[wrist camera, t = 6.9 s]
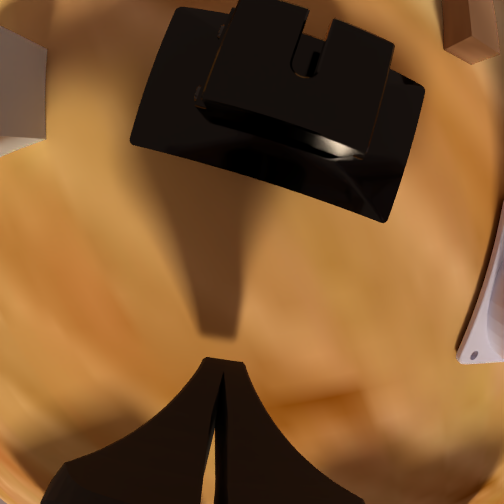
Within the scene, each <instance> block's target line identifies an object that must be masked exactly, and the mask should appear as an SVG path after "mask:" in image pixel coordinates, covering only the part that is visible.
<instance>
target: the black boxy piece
mask: <svg viewBox="0 0 504 504" xmlns="http://www.w3.org/2000/svg"><path fill="white" fill-rule="evenodd" d="M309 11H310V10H309V9H308V8H305V7H302V6H299V5H296V4H292V3H289V2H285V1H282V0H239V1H238V4H237V6H236V8H234V7H233V8H232V9H231V12H230V14H225V13H220V12H214V11H208V10H202V9H195V8H188V7H179V8H177V9H176V11H175V13H174V15H173V17H172V20H171V22H170V24H169V27H168V29H167V31H166V34H165V36H164V39H163V41H162V44H161V46H160V49H159V51H158V54H157V56H156V59H155V62H154V64H153V67H152V70H151V73H150V76H149V78H148V81H147V84H146V87H145V90H144V93H143V96H142V99H141V102H140V106H139V109H138V112H137V115H136V119H135V122H134V126H133V129H132V133H131V136H130V143H131V144H132V145H135V146H139V147H144V148H148V149H152V150H156V151H160V152H164V153H167V154H171V155H175V156H179V157H183V158H186V159H190V160H194V161H197V162H201V163H204V164H208V165H212V166H215V167H218V168H222V169H225V170H229V171H232V172H235V173H239V174H242V175H245V176H249V177H252V178H255V179H258V180H261V181H265V182H268V183H271V184H274V185H277V186H280V187H283V188H286V189H289V190H292V191H295V192H298V193H301V194H304V195H307V196H310V197H313V198H316V199H319V200H321V201H324V202H327V203H330V204H333V205H335V206H338V207H341V208H344V209H346V210H349V211H352V212H354V213H357V214H360V215H362V216H365V217H368V218H370V219H373V220H376V221H378V222H381V223H385V222H386V221H387V220H388V217H389V215H390V212H391V209H392V206H393V203H394V200H395V197H396V194H397V191H398V188H399V185H400V182H401V179H402V176H403V173H404V169H405V166H406V163H407V159H408V156H409V153H410V149H411V146H412V142H413V138H414V135H415V131H416V127H417V123H418V119H419V116H420V111H421V107H422V103H423V99H424V94H425V89H424V87H423V86H422V85H420V84H418V83H416V82H415V81H413V80H411V79H409V78H407V77H405V76H403V75H401V74H399V73H397V72H395V71H393V70H391V69H390V65H391V61H392V56H393V52H394V47H395V45H394V44H393V43H391V42H389V41H387V40H385V39H383V38H381V37H379V36H377V35H375V34H373V33H370V32H368V31H366V30H364V29H361V28H359V27H357V26H354V25H352V24H349V23H347V22H344V21H342V20H339V19H337V18H334V19H333V20H332V21H331V23H330V25H329V27H328V30H327V33H326V37H325V40H322V39H319V38H317V37H314V36H311V35H308V34H305V33H302V31H303V28H304V26H305V23H306V20H307V17H308V14H309Z"/></svg>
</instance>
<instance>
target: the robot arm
mask: <svg viewBox="0 0 504 504" xmlns="http://www.w3.org/2000/svg"><path fill="white" fill-rule="evenodd" d="M456 359H457V360H458V361H459V362H460V364H478V363H493V362H504V201H503V206H502V211H501V216H500V221H499V226H498V230H497V235H496V239H495V243H494V247H493V251H492V255H491V259H490V262H489V266H488V269H487V273H486V276H485V279H484V282H483V286H482V289H481V292H480V295H479V298H478V301H477V303H476V306H475V309H474V312H473V314H472V317H471V320H470V322H469V325H468V327H467V330H466V332H465V335H464V337H463V340H462V342H461V344H460V347H459V349H458V351H457V354H456ZM214 430H215V496H214V504H365V503H364V500H363V499H361V498H360V497H358V496H356V495H355V494H353V493H351V492H349V491H348V490H346V489H344V488H343V487H341V486H339V485H338V484H336V483H335V482H333V481H332V480H331V479H329V478H328V477H327V476H325V475H324V474H323V473H321V472H320V471H319V470H317V469H316V468H315V467H314V466H313V465H312V464H311V463H310V462H309V461H307V460H306V459H305V458H304V457H303V456H302V455H301V454H300V453H299V452H298V451H297V450H296V449H295V448H294V447H293V446H292V445H291V443H290V442H289V441H288V440H287V439H286V438H285V436H284V435H283V434H282V433H281V431H280V430H279V429H278V427H277V426H276V425H275V423H274V422H273V420H272V419H271V417H270V416H269V414H268V413H267V411H266V409H265V408H264V406H263V404H262V402H261V401H260V399H259V397H258V395H257V393H256V391H255V389H254V387H253V385H252V382H251V380H250V378H249V375H248V372H247V369H246V366H245V364H244V363H243V362H237V361H230V360H223V359H217V358H210V357H206V358H204V359H203V360H202V362H201V364H200V366H199V368H198V369H197V371H196V372H195V374H194V375H193V376H192V378H191V379H190V380H189V382H188V383H187V384H186V385H185V386H184V388H183V389H182V390H181V391H180V392H179V393H178V394H177V395H176V396H175V398H174V399H173V400H172V401H171V402H170V403H169V404H168V405H167V406H166V407H164V408H163V409H162V410H161V411H160V412H159V413H158V414H157V415H155V416H154V417H153V418H152V419H150V420H149V421H148V422H146V423H145V424H144V425H142V426H141V427H139V428H138V429H136V430H135V431H134V432H132V433H130V434H129V435H127V436H125V437H124V438H122V439H120V440H118V441H116V442H114V443H112V444H110V445H109V446H107V447H105V448H103V449H101V450H98V451H96V452H94V453H91V454H88V455H86V456H83V457H80V458H77V459H75V460H72V461H69V462H65V463H64V464H63V466H62V467H61V468H60V470H59V471H58V472H57V474H56V475H55V476H54V478H53V479H52V481H51V482H50V484H49V486H48V488H47V490H46V492H45V494H44V496H43V498H42V500H41V503H40V504H200V502H201V493H202V484H203V476H204V472H205V468H206V464H207V459H208V455H209V451H210V447H211V442H212V438H213V434H214Z"/></svg>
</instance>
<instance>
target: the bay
mask: <svg viewBox="0 0 504 504" xmlns="http://www.w3.org/2000/svg"><path fill="white" fill-rule="evenodd" d="M442 8H443V25H444V50H445V51H447V52H449V53H451V54H453V55H455V56H457V57H458V58H460V59H462V60H464V61H466V62H467V63H469V64H471V65H472V64H474V63H477V62H480V61H482V60H485V59H488V58H491V57H494V56H496V55H499V54H500V49H499V39H498V31H497V23H496V17H495V10H494V5H493V0H442Z"/></svg>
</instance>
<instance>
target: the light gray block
mask: <svg viewBox="0 0 504 504" xmlns="http://www.w3.org/2000/svg"><path fill="white" fill-rule="evenodd" d="M46 62H47V49H46V48H44V47H42V46H40V45H38V44H36V43H34V42H32V41H31V40H29V39H27V38H25V37H22V36H20V35H18V34H16V33H14V32H12V31H10V30H8V29H6V28H4V27H2V26H0V157H2V156H4V155H6V154H9V153H11V152H14V151H16V150H19V149H21V148H24V147H26V146H29V145H32V144H34V143H37V142H40V141H43V140H46V124H45V82H46Z"/></svg>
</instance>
